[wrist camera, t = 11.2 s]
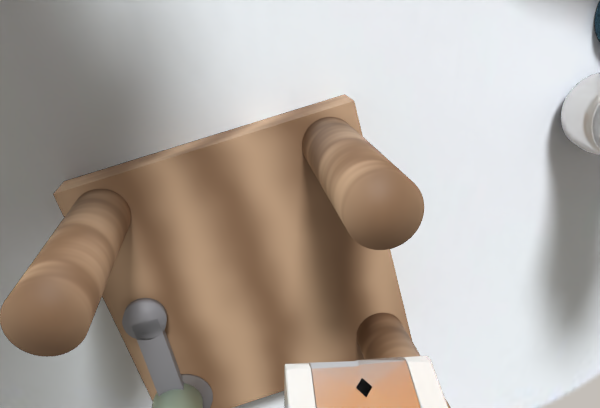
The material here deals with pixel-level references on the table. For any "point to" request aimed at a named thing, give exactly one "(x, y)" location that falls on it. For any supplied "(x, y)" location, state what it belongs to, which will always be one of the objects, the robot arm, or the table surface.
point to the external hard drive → (597, 22)
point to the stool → (233, 254)
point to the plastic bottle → (583, 114)
